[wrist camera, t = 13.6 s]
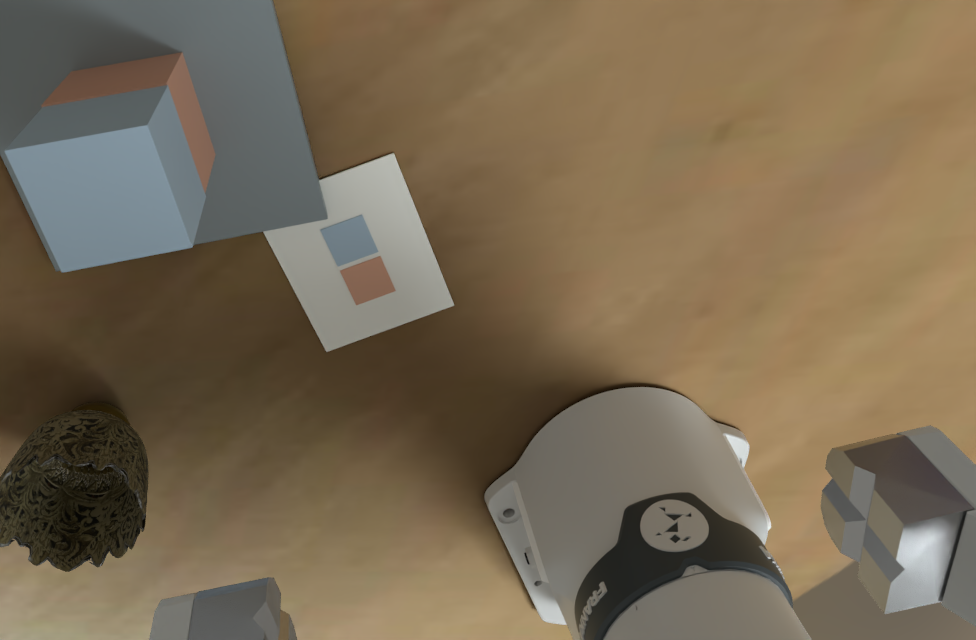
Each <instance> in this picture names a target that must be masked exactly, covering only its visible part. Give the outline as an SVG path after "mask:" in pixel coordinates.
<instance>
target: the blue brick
mask: <svg viewBox="0 0 976 640" xmlns="http://www.w3.org/2000/svg"><path fill="white" fill-rule="evenodd" d="M5 154H6V156H7V158H8V160H9V162H10V164H11V166H12V168H13V170H14V173H15V175H16V177H17V179H18V181H19V183H20V185H21V187H22V189H23V192H24V194H25V196H26V198H27V200H28V202H29V204H30V206H31V208H32V211H33V213H34V215H35V217H36V219H37V221H38V223H39V225H40V227H41V230H42V232H43V234H44V236H45V238H46V240H47V242H48V244H49V246H50V249H51V251H52V253H53V255H54V257H55V259H56V261H57V263H58V265H59V268H60V270H61V272H62V273H63V272H69V271H74V270H79V269H84V268H89V267H95V266H100V265H105V264H110V263H115V262H120V261H126V260H131V259H136V258H141V257H146V256H152V255H157V254H162V253H167V252H172V251H177V250H183V249H188V248H192V247H193V244H194V240H195V236H196V232H197V229H198V225H199V221H200V217H201V214H202V210H203V206H204V202H205V199H206V195H205V192H204V189H203V186H202V183H201V180H200V177H199V174H198V172H197V169H196V166H195V163H194V160H193V157H192V154H191V151H190V148H189V145H188V142H187V139H186V136H185V134H184V131H183V128H182V125H181V122H180V119H179V116H178V113H177V110H176V107H175V104H174V101H173V98H172V96H171V93H170V90H169V87H168V85H165V86H159V87H154V88H148V89H142V90H137V91H131V92H125V93H120V94H114V95H108V96H103V97H97V98H91V99H86V100H80V101H74V102H69V103H63V104H57V105H52V106H46V107H42V109H41V110H40V111H39V112H38V113H37V114H36V115H35V116H34V118H33V119H32V120H31V121H30V122H29V123H28V124H27V126H26V127H25V128H24V129H23V130H22V131H21V132H20V133H19V135H18V136H17V137H16V138H15V139H14V140H13V141H12V143H11V144H10V145H9V146H8V147H7V148H6V149H5Z"/></svg>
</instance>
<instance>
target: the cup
mask: <svg viewBox="0 0 976 640" xmlns="http://www.w3.org/2000/svg"><path fill="white" fill-rule="evenodd" d="M147 490H148V459H147V454H146V450H145V447H144V444H143V442H142V440H141V438H140V437H139V435H138V434H137V433H136V431H135V430H134V429H133V428H132V427H131V426H130V423H129V421H128V419H127V417H126V415H125V414H124V413H123V412H122V411H121V410H120V409H118V408H117V407H115V406H113V405H110V404H107V403H103V402H90V403H85V404H82V405H80V406H78V407H76V408H75V409H73V410H72V411H71V412H67V413H64V414H61V415H58V416H55V417H53V418H51V419H50V420H48V421H47V422H45V423H43V424H42V425H41V426H39V427H38V428H37V429H36V430H35V431H34V432H33V433H32V434H31V435H30V436H29V437H28V439H27V440H26V441H25V442H24V443H23V445H22V446H21V447H20V449H19V450H18V452H17V453H16V455H15V456H14V458H13V459H12V460H11V462H10V463H9V465H8V466H7V468H6V469H5V471H4V472H3V474H2V475H1V477H0V547H4V546H9V544H11V542H13V541H15V540H17V542H18V544H19V546H20V547H24V546H26V547H28V548H29V549H30V555H29V557H28V560H29V561H30V562H31V563H32V564H33V565H36V566H37V565H40V564H42V563H44V562H45V561H46V560H48V561H49V562H50V563H51V565H52V566H54V567H56V568H58V569H60V570H63V571H65V572H69V571H71V570H73V569H75V568H77V567H79V566H80V565H82V564H83V563H84V562H86V561H88V560H89V561H90V558H91V560H92V562H93V563H91V562H89V563H91V564H93V565H94V566H96V567H100V566H102V564H103V562H104V560H105V558H106V555H107V554H108V552H109V551H110V553H111V554H112V556H114V557H115V558H120V557H122V556H123V555H124V554H125V553H126V551H127V549H128V547H129V548H130V549H132V548H133V546H134V544H135V542H136V539H137V537H138V535H139V534H140V529H142V532H143V531H144V527H145V519H146V504H147ZM11 539H15V540H11Z"/></svg>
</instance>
